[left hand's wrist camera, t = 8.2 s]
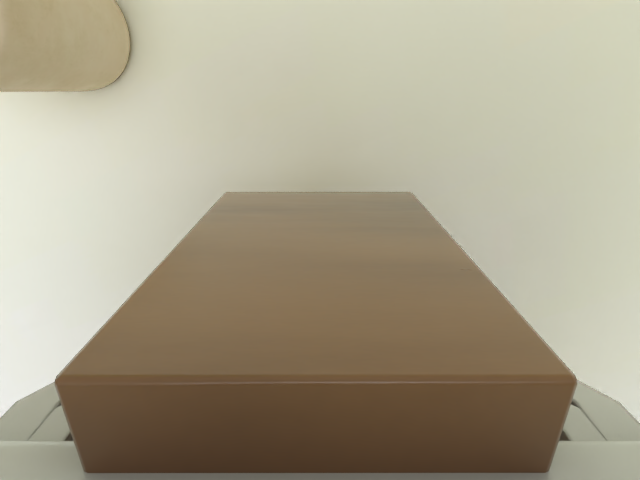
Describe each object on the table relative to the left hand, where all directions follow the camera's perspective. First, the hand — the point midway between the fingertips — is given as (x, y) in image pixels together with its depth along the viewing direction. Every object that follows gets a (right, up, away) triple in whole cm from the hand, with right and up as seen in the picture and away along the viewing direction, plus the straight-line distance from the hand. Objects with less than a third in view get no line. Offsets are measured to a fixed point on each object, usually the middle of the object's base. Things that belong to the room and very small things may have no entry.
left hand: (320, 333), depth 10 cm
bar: (0, -8, +6) cm, 11 cm away
